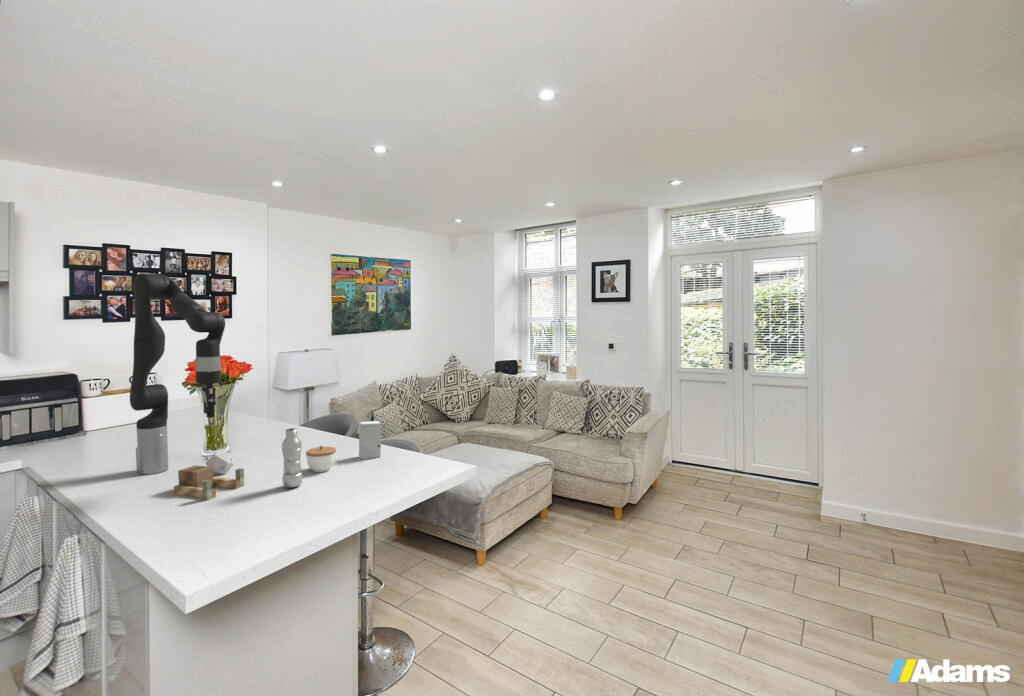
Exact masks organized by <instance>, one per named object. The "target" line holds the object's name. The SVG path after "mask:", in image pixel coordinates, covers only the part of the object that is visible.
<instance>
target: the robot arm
mask: <svg viewBox="0 0 1024 696" xmlns="http://www.w3.org/2000/svg"><path fill="white" fill-rule="evenodd" d="M151 300H167V301H170V302H171V303H170V304H171V308H172V311H174V313H176V315H178V316H180V317H181V318H182V319H184V320H185V322H186V324H187V325H188V326H189V328H190V330H192V331H194V332H196V333H201V334H202V333H208V334H207V336H206V337H205V338H202V339H199V340H197V341H196V342H195V363H194V367H195V371H194V372H195V373H194V374H195V383H196V384H198V385H201V387H202V388H200V389H201V400H202V403H203V414H206V417H207V418H208V419H211V418H215V407H216V404H217V403H216V400H217V396H216V393H217V388H216V387H214V384H219V383H221V381H222V362H221V347H220V346H221V342H222V338H223V336H224V335H223V334H224V331H225V328H226V321H225V320H226V319H225V316H223V314H222V313H219V312H215V311H213V312H212V311H210V312H208V311H206V309H205V307H203V306H202V305H201V304H200V303H199V302H197V301H196V300H194V299H193V298H191V297H190V296H188V295H187V294H186V293H185V292H184V290H182V288H181V287H180V286H179V285H178V284H177V283H176V282H175V281H174V280H173V279H172V278H171V277H170V276H167V275H166V274H160V273H159V274H157V273H144V272H142V273H138V274H136V276H135V278H134V281H133V301H134V334H133V335H134V336H133V363H132V364H133V365H132V377H131V384H130V390H129V403H130V407H131V409H133V410H134V411H138V412H139V411H140V412H141V411H146V410H147V411H148V410H151V411H150V413H148V414H147V415H145V416H144V417H142V418H140V419H138V420H137V421H136V423H135V424H136V442H137V443H136V444H137V446H136V448H135V462H136V463H135V464H136V473H138V474H139V475H153V474H158V473H162V472H166V471H168V469H169V450H168V449H169V444H168V426H167V425H168V417H169V393H168V389H167V387H166V386H165V385H164V384H161V383H157V384H156V383H155V384H147V383H148V382H147V381H148V378H149V375H150V373H151V372H152V369H153V368H154V367H155V366H156V365H157V364H158V362H159V361H160V360H161V358H162V357H163V355H164V353H165V347H166V334H165V331H164V330H163V328H162V326H161V325H160V323H159V322H158V320H157V319H156V317H155V315H154V314H153V312H152V305H151V304H152V303H151Z"/></svg>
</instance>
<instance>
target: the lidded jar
mask: <svg viewBox="0 0 1024 696" xmlns="http://www.w3.org/2000/svg"><path fill="white" fill-rule="evenodd" d="M336 453H337V448H336V447H333V446H323V445H319V446H317V447H312V448H309V449H307V450H306V451H305V457H306V462H307V465H308V467H309V468H310V469H311V471H313V473H323V472H327V471H330V470H329V469H331V468H332V467H333V466H334V465H335V461H336V457H337V456H336V455H337V454H336Z"/></svg>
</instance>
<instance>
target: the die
mask: <svg viewBox="0 0 1024 696" xmlns="http://www.w3.org/2000/svg"><path fill="white" fill-rule="evenodd" d="M205 464H206V467H213V475H226V474H227V473H228V472H229V471H230V470H231V469H232V468H233V467H234V465H235V464H236V463H235V461H234V459H233V457H232V455H231V453H230V452H228V451H220V452H218V451H217V452H216V451H215V452H214V453H213V454H212V455H211V456H210V458H208V460H206V462H205Z"/></svg>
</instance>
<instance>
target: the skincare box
mask: <svg viewBox="0 0 1024 696" xmlns="http://www.w3.org/2000/svg"><path fill="white" fill-rule="evenodd" d="M358 425H359V426H358V427H359V430H358V440H359V441H358V456H359V457H360V458H359V459H361V460H368V459H374V458H381V457H382V456H381V455H382V454H381V449H382V446H381V445H382V444H381V442H382V438H381V437H382V423H381V422H380V421H378V420H376V421H375V420H373V421H359V422H358Z"/></svg>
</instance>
